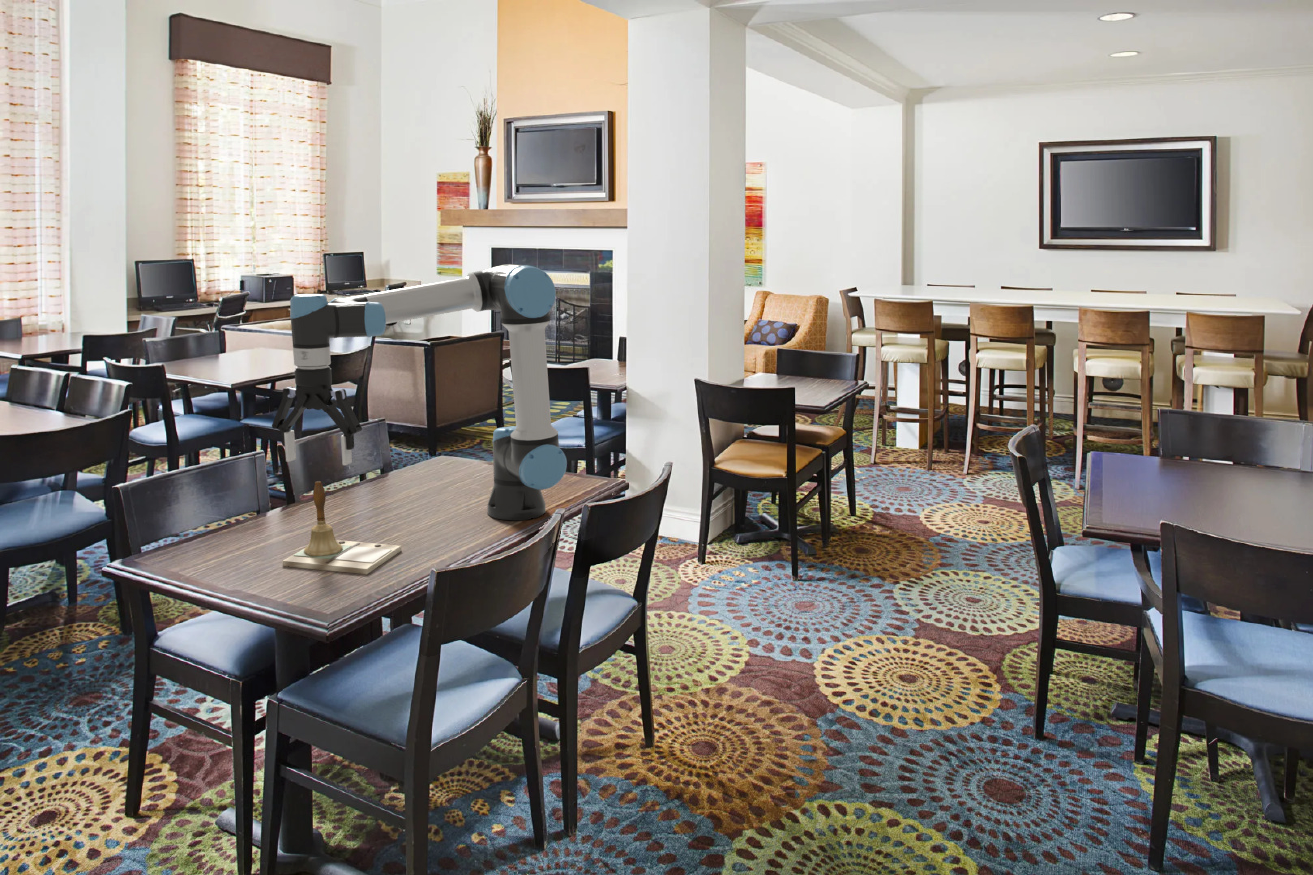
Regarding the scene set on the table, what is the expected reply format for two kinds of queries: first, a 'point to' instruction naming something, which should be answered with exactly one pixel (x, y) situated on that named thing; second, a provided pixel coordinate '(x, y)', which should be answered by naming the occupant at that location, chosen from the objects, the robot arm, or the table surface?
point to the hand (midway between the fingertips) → (319, 462)
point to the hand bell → (321, 529)
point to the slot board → (346, 558)
